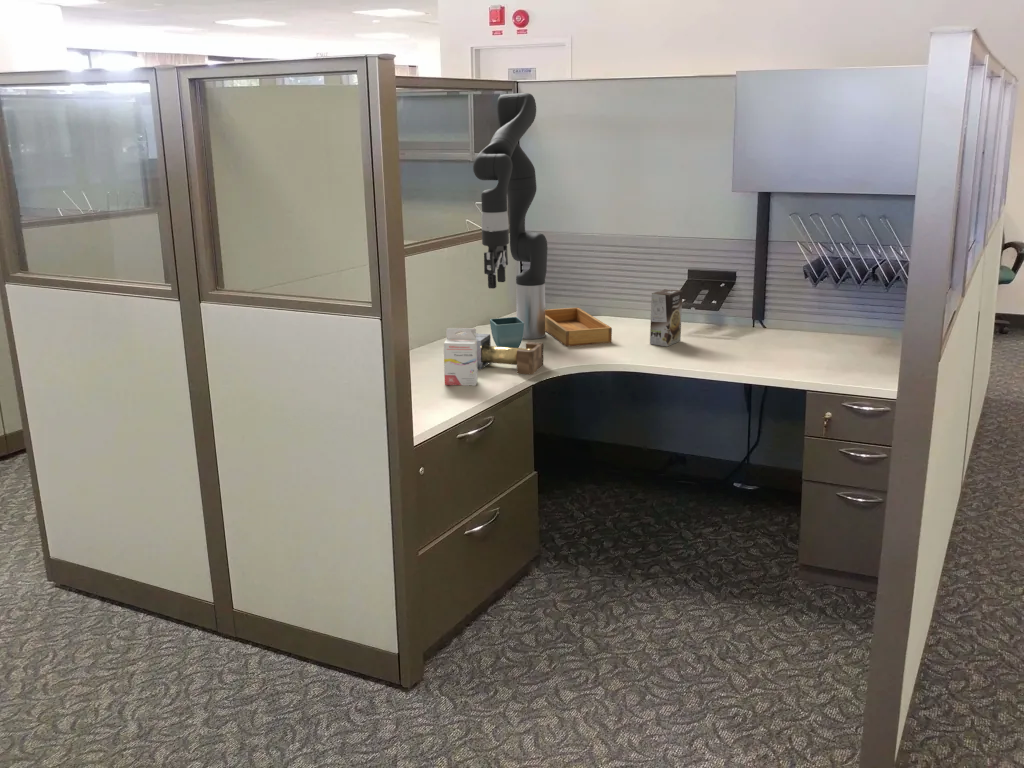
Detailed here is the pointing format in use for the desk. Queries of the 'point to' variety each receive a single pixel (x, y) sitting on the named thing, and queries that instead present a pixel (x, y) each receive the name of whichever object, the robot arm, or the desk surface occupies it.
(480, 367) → the sleeve
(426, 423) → the desk surface
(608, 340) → the tray
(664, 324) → the coffee box
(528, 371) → the socket
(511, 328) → the flower pot
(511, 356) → the tube
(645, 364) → the desk surface
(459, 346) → the ink cartridge box
